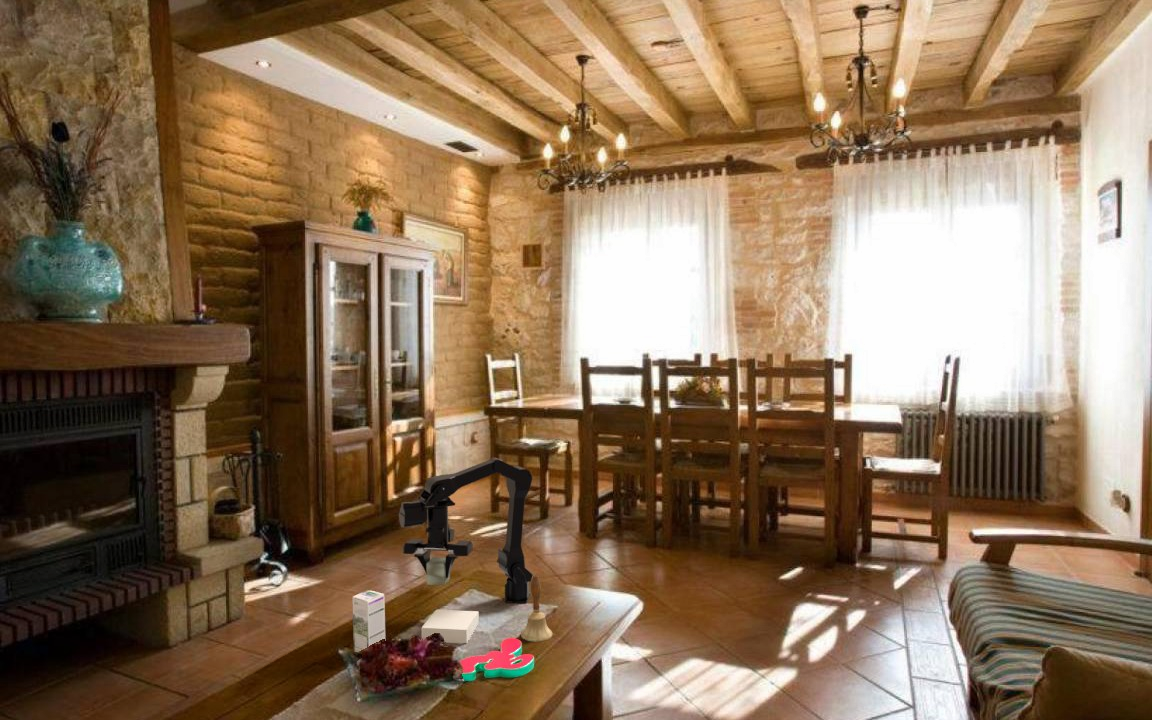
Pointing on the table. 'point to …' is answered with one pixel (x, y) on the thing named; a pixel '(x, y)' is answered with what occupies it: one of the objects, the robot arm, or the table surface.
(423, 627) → the cream block
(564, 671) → the table surface
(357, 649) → the syrup box
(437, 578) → the green block
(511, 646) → the squiggly shape
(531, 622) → the hand bell
